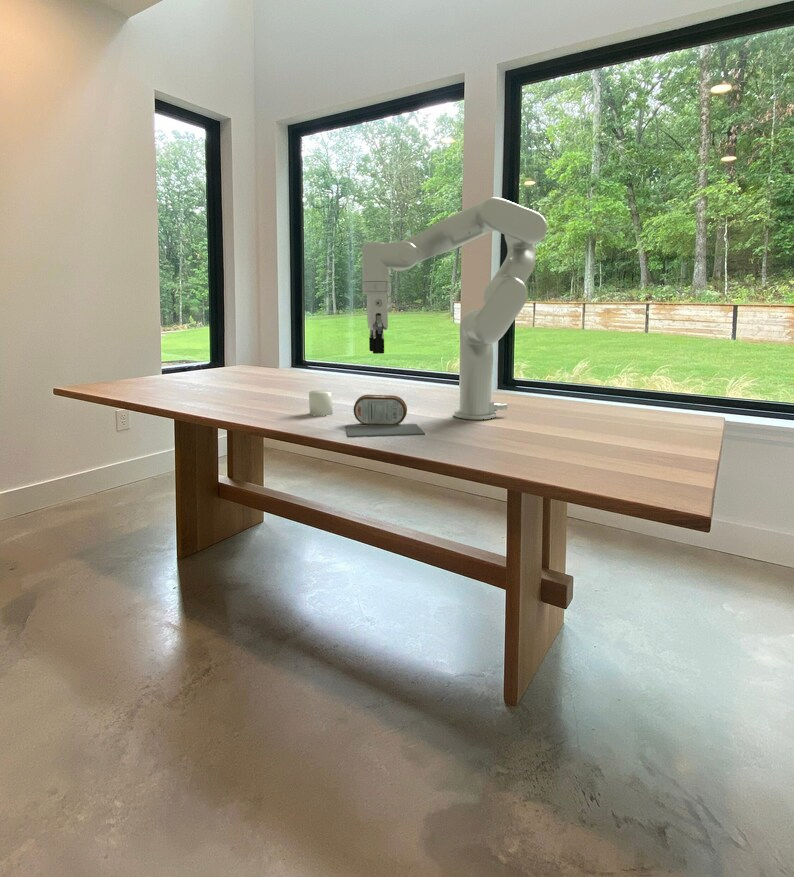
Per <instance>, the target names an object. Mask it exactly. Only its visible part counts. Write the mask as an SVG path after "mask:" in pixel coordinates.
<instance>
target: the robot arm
mask: <svg viewBox="0 0 794 877" xmlns="http://www.w3.org/2000/svg"><path fill="white" fill-rule="evenodd" d="M547 230H548V224H547V221H546V219H545V216H543V215H542V214H540V212H538V211H535V210H533V209H530V208H528V207H525V206H522V205H520V204H517V203H515V202H512V201H510V200H507V199H505V198H501V197H497V196H494V197H493V196H491V197H489V198H486V199H485V200H482V201H480V202H478V203H476V204H474V205H472V206H470V207H468V208H465V209H463V210H461V211H459V212H456V213H455V214H453V215H450V216H448V217H446V218H444V219H442V220H440V221H438V222H436V223H434V224H432V226H431V225H430V226H429V227H428V228H426V229H424V230H423V231H420V232H419V233H417V234H415V235H413V236H410V237H408V238H407V239H404V240H402V241H395V242H394V241H393V242H383V241H370V242H364V244H363V245H362V248H361V253H362V254H361V260H362V261H361V263H362V264H361V266H362V270H361V271H362V272H361V273H362V277H361V278H362V295H366V321H367V328H368V329H369V337H368V338H369V339H368V340H369V342H368V343H369V344H368V345H369V347H368V348H369V349H368V350H369V352H372V354H378V355H379V354H380V355H381V354H384V353H385V336H384V330H385V331H386V330H388V329H389V323H388V322H389V319H388V313H389V312H388V297H387V295H390V294H391V293H390V270H393V271H396V272H402V271H407V270H409V269H412V268H413V267H415V265H417V264H419V263H422V262H423V261H426V260H428V259H430V258H433V257H436V256H438V255H442V254H446V253H449V252H450V251H453V250H456V249H458V248H460V247H462V246H464V245H466V244H468V243H470V242H472V241H474V240H477V239H478V238H481V237H483V236H485V235H487V234H489V233H491V232H494V231H495V232H497V233H500V234H503V235H504V240H505V243H506V248H507V253H506V257H505V259H504V260H503V262H502V264H501V266H500V267H499V268H498V271H497V272H496V273H495V275H494V276H493V278H492V279H491V280H490V281H489V283H488V284H487V286H486V288H485V289H484V291H483V298H482V300H483V303H484V305H483V307H482V308H477V309H472V310H470V311H468V312H466V313H465V314H464V315H463V316H462V318H461V320H460V323H459V340H460V374H459V377H460V378H459V380H460V381H459V383H460V384H459V409H457V410H454V413H453V415H454V416H455V417H456V418H459V419H462V420H463V419H464V420H474V421H475V420H477V421H478V420H479V421H482V420H483V419H484V420H490V419H491V418H492V419H494V418H496V417H497V411H506V410H507V409H508V405H507V403H500V402H499V403H498V402H497V403H496V402H494V400H492V397H493V395H492V394H493V372H494V371H493V370H494V369H493V368H494V347H493V344H495V343H497V342H498V341H499V340H500V339H501V338H503V337H504V335H505V334H506V333H507V331H508V330H509V329H510V327H511V325H512V324H513V322H514V321H515V320H516V318H517V317H518V315H519V314H520V312H521V311H522V310H523V308H524V306H525V304H526V301H527V298H528V291H527V286H526V282H527V280H528V279H529V277H530V276H531V274H532V272H533V271H534V267H535V265H536V258H537V256H536V254H537V253H536V247H535V246H536V245H537V244H539V243H540V242H541V241H542V240H543V239H544V238H545V237H546V235H547Z"/></svg>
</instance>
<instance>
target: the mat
mask: <svg viewBox="0 0 794 877" xmlns="http://www.w3.org/2000/svg"><path fill="white" fill-rule="evenodd" d="M344 427H345V428H344V429H345V431H346V434H347V437H348V438H355V437H354V436H358V437H357V438H360V437H359V436H367V437H391V436H393V437H394V436H395V435H398V436H418V435H419V436H420V435H422V436H423V435H424V436H425V435H426V432H425V431H424V430H423V429H422V428H421V427H420V426H419V425H418V424H417V423H407V424H405V423H403V424H401V423H399V424H396V425H365V424H362V425H345V426H344Z"/></svg>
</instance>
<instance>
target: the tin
mask: <svg viewBox="0 0 794 877" xmlns="http://www.w3.org/2000/svg"><path fill="white" fill-rule="evenodd" d="M407 413H408V407H407V404H406V402H405V401H404V400H403V398H401V397H400V396H397V395H395V394H394V395H393V394H392V395H391V394H389V395H387V394H364V395H361V396H360V397H358V399H357V400H356V401H355V403H354V406H353V415H354V418H355V419H356V421H358V422H359V423H360V424H362V425H396V424H401V423H402V422H404V420H405V418H406V416H407Z"/></svg>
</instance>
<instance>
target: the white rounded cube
mask: <svg viewBox="0 0 794 877" xmlns="http://www.w3.org/2000/svg"><path fill="white" fill-rule="evenodd" d="M308 399H309V400H308V401H309V402H308V404H309V408H308V409H309V416H311V415H315V416H314V417H318V416H322V417H326V416H325V415H330V416H332V415H333V414H334V413H333V391H332V390H328V389H327V390H326V389H325V390H324V389H319V390H318V389H315V390H310V391H309V392H308ZM331 414H332V415H331ZM323 415H324V416H323Z"/></svg>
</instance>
